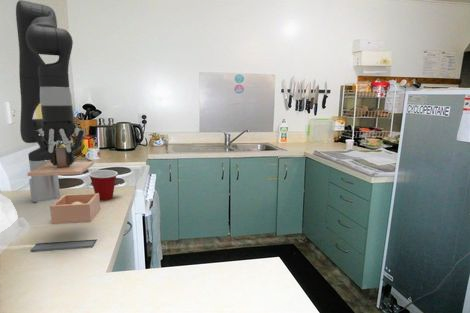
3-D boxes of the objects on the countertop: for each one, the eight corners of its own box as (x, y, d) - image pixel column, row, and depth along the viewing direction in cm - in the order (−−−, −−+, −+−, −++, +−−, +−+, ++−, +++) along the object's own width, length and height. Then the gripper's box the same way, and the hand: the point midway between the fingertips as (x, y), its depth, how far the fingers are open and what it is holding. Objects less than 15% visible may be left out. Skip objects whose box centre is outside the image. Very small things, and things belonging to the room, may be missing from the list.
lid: (27, 176, 79) (24, 152, 78) (48, 165, 92) (46, 144, 90) (80, 174, 81) (78, 151, 80) (94, 163, 94) (92, 144, 93)
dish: (52, 226, 99) (49, 206, 97) (65, 212, 110) (64, 194, 109) (91, 224, 101) (89, 204, 99) (100, 211, 112) (99, 193, 111)
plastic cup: (109, 206, 117) (107, 176, 115) (85, 204, 119) (82, 174, 117) (124, 197, 128) (122, 170, 126) (102, 195, 130) (99, 168, 128)
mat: (30, 251, 82) (30, 249, 82) (51, 230, 96) (51, 228, 96) (92, 247, 85) (92, 245, 85) (104, 226, 99) (104, 225, 98)
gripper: (88, 103, 88) (93, 161, 91) (35, 103, 85) (42, 162, 89) (79, 104, 80) (85, 167, 84) (21, 104, 78) (29, 168, 81)
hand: (63, 164), depth 86 cm, fingers closed on lid, 3 cm apart
